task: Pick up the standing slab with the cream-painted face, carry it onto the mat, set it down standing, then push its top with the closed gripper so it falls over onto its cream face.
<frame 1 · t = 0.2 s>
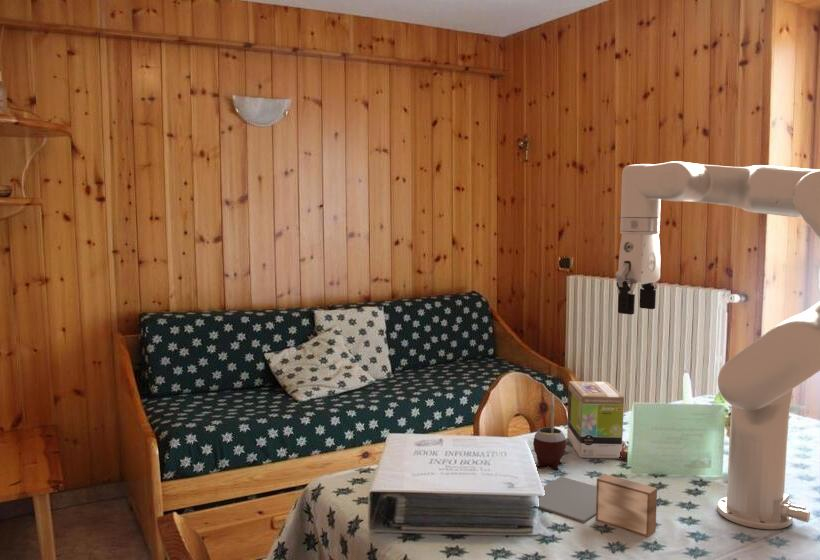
hand: (636, 311, 143), 36 cm above the table, tool pointing down, fingers open, 9 cm apart
mat: (571, 498, 139), on the table
slab: (625, 525, 127), on the table
tea box: (593, 448, 168), on the table
mate gourd: (548, 466, 157), on the table
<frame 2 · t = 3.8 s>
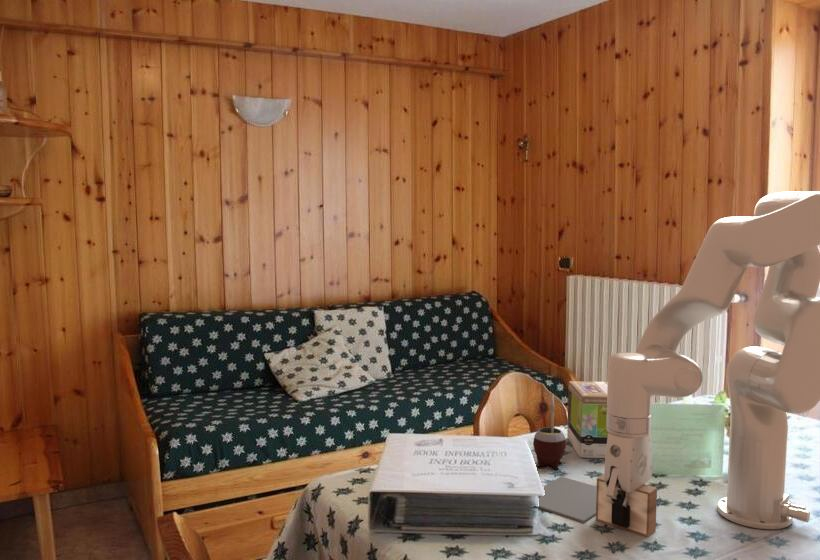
hand: (625, 520, 127), 1 cm above the table, tool pointing down, fingers closed on slab, 3 cm apart
slab: (625, 525, 127), on the table, touching gripper
everything else where it was.
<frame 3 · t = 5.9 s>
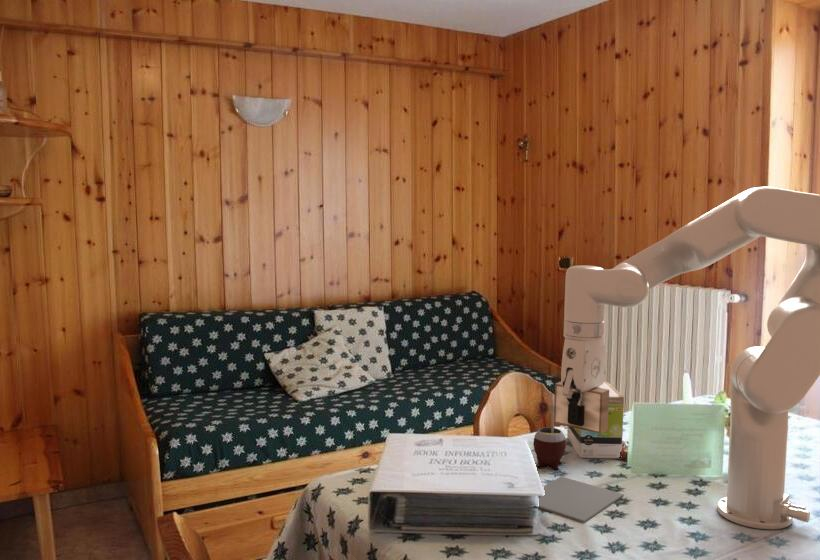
hand: (580, 421, 138), 15 cm above the table, tool pointing down, fingers closed on slab, 3 cm apart
slab: (580, 426, 138), point 14 cm above the table, touching gripper
everything else where it was.
when the fingers open (2 cm above the table, at t = 8.3 s): slab stays where it is, resting on mat.
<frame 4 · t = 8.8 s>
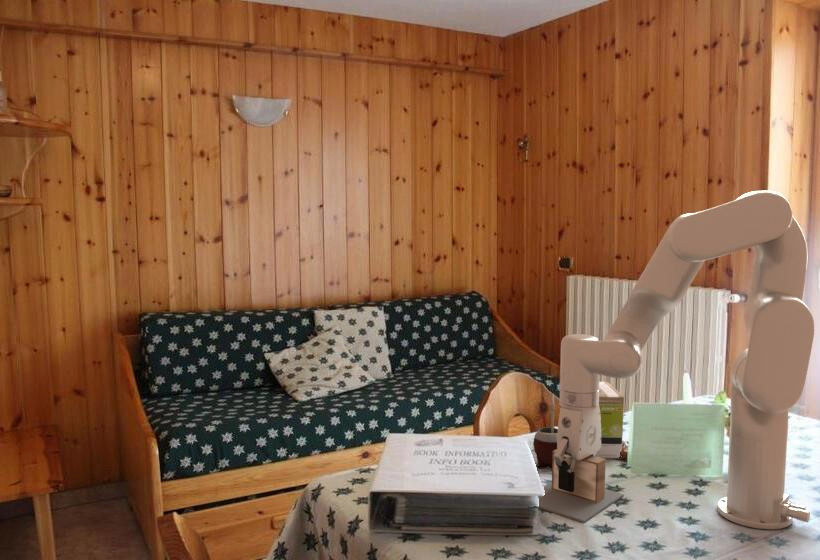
hand: (577, 483, 140), 3 cm above the table, tool pointing down, fingers open, 8 cm apart
slab: (577, 493, 140), resting on mat
everything else where it was.
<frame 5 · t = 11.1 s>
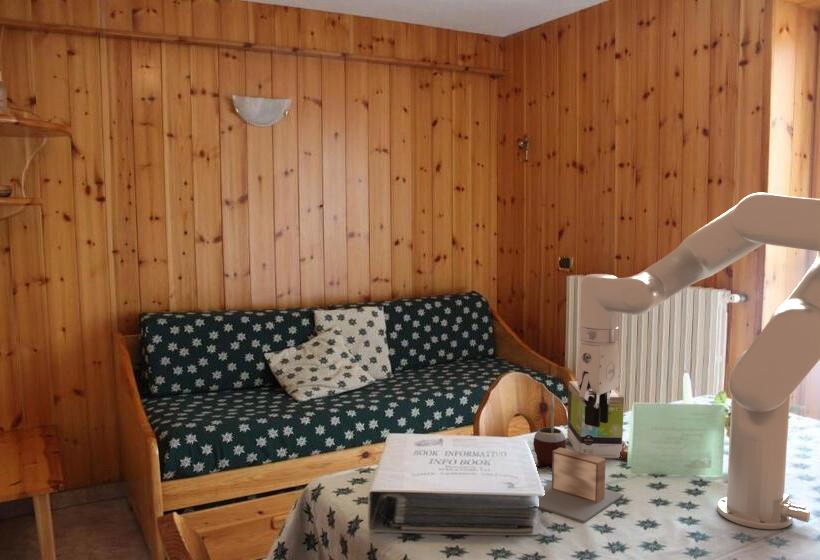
hand: (596, 422, 145), 13 cm above the table, tool pointing down, fingers closed
nothing on the table moved.
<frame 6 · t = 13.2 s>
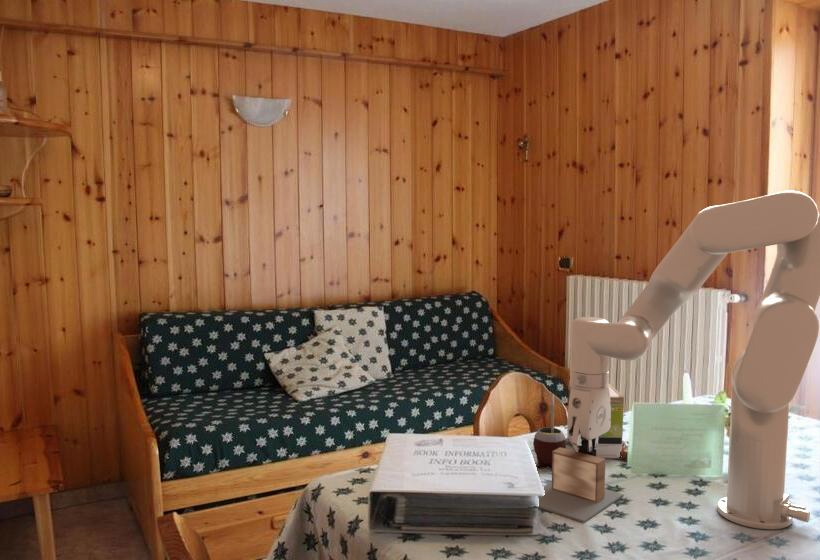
hand: (586, 467, 143), 5 cm above the table, tool pointing down, fingers closed
slab: (577, 493, 140), resting on mat, touching gripper
everything else where it was.
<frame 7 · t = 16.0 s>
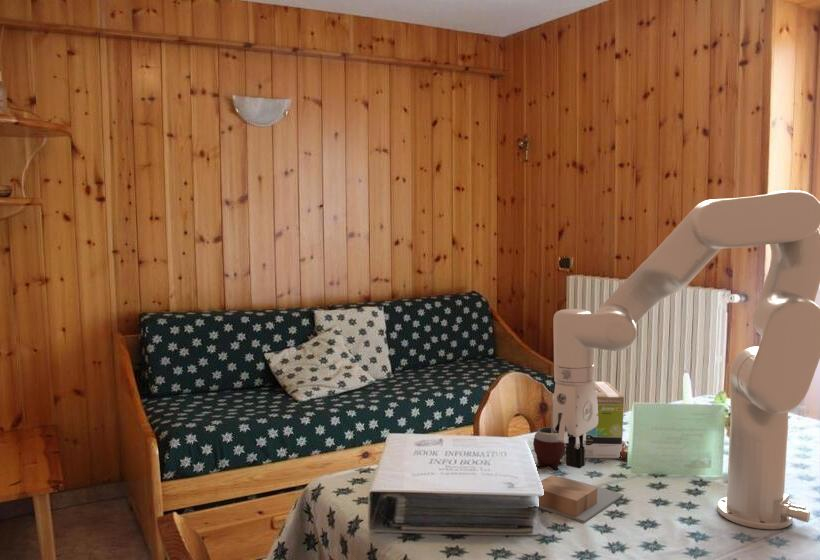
hand: (575, 465, 137), 7 cm above the table, tool pointing down, fingers closed
slab: (574, 488, 139), point 2 cm above the table, tilted 90°, touching mat
everything else where it was.
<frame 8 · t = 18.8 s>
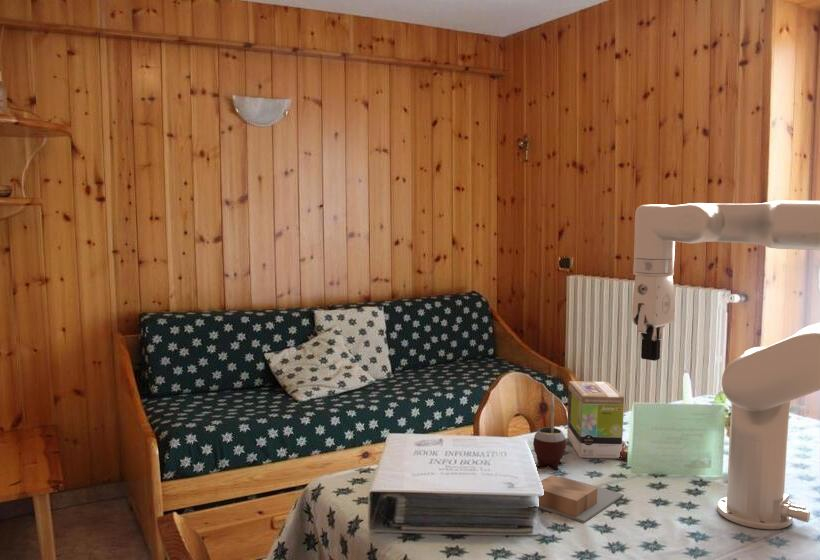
hand: (650, 358, 140), 27 cm above the table, tool pointing down, fingers closed
nothing on the table moved.
at the end: slab tilted 90°; slab inside the target area on the mat (1.1 cm from its centre), point 1.9 cm above the mat's base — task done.
